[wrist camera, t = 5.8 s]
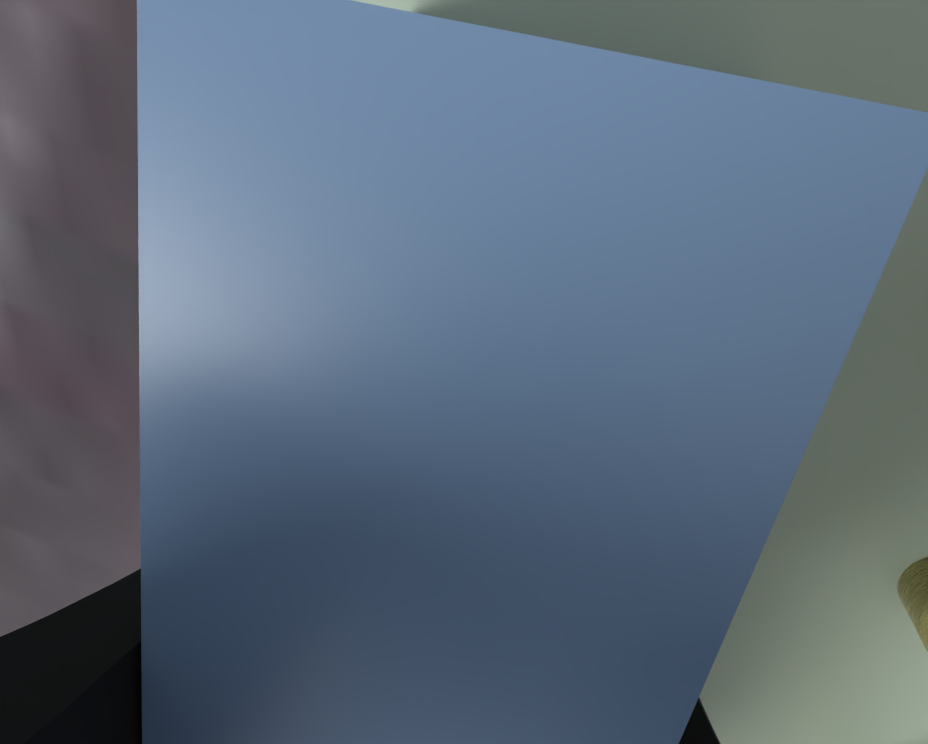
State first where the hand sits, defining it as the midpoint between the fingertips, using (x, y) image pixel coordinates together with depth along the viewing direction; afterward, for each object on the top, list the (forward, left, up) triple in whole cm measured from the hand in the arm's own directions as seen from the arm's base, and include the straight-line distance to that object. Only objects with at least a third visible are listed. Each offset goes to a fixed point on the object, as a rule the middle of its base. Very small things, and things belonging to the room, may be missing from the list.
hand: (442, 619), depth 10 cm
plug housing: (0, 0, -3) cm, 3 cm away
